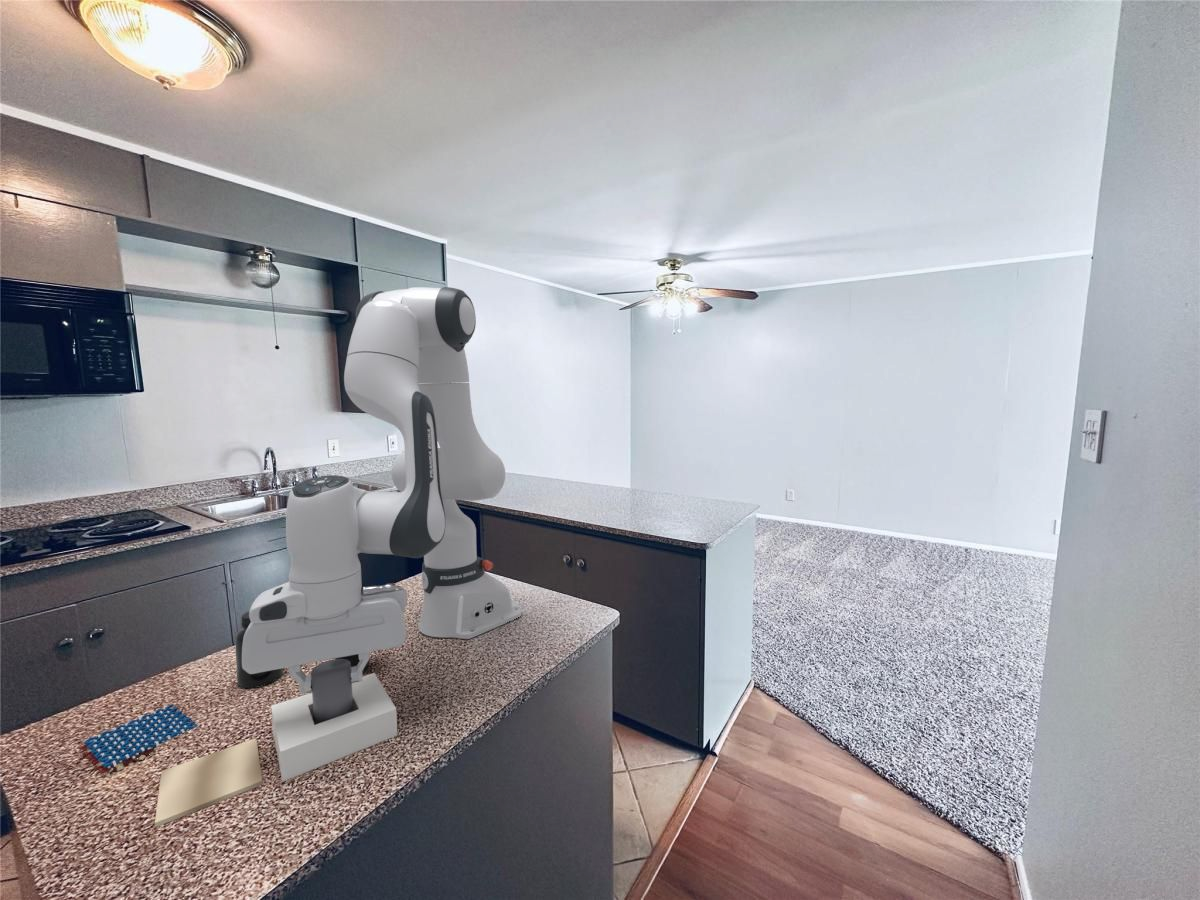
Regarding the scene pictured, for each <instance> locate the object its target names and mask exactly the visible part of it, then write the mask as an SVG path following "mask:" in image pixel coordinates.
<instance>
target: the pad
mask: <svg viewBox="0 0 1200 900" xmlns="http://www.w3.org/2000/svg"><path fill="white" fill-rule="evenodd" d="M160 773H161V774H160V779H159V789H158V795H157V804H156V811H155V819H154V826H155V827H154V828H157V827H160V826H162V825H164V824H165V825H166V824H169V823H170V822H172V821H174V820H177V819H180V818H182V817H185V816H189V815H190V814H192V813H195V812H198V811H200V810H203V809H205V808H208V807H210V806H212V805H215V804H217V803H220V802H223V801H225V800H227V799H231V798H233V797H235V796H238V795H240V794H242V793H246V792H248V791H250V790H253V789H255V788H258V787H260V786H263V775H262V769H261V763H260V754H259V748H258V741H257V737H256V738H255V737H254V738H252V739H249V740H246V741H243V742H241V743H238V744H234V745H232V746H229V747H227V748H224V749H220V750H217V751H214V752H211V753H208V754H206V755H203V756H201V757H198V758H195V759H191V760H190V761H186V762H184V763H183V762H182V763H181V764H177V765H175V766H172V767H169V768H165V769H163V770H161V771H160Z"/></svg>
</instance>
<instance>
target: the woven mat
mask: <svg viewBox="0 0 1200 900" xmlns="http://www.w3.org/2000/svg"><path fill="white" fill-rule="evenodd" d="M174 706H175V703H170V704H169V705H167V706H166V707H165V706H164V707H162V708H157V709H156V711H153V712H152V713H151V714H143V716H142V717H138V718H137V719H132V720H130V721H129V722H126V723H124V724H118V725H117V727H113V729H111V730H103V731H102V733H101V734H100V733H99V734H97V735H96V736H91V737H89V738H87V739H86V740H85V741H83V744H84V745H81V746H80V750H82V756H83V757H84V756H85V757H86V759H87V761H90V763H92V764H93V766H95V767H94V769H93V770H98V773H99V774H100V775H103V776H105V775H106V776H105V777H107V776H108V777H111V776H112V774H110V773H112V772H113V771H115V772H116V771H117V772H119V771H122V770H124V769H125V767H127V766H128V767H132V765H133V766H134V764H135V763H134V761H135V760H138V761H139V760H142V761H143V759H144V758H145V759H146V755H148V754H150V755H151V756H153V755H155V754H156V751H157V747H158V746H160V744H161V743H164V742H167V741H168V740H171V739H173V738H174V737H176V736H177V737H179V736H180V735H182V734H184V733H186V732H188V731H190V730H192V729H195V728H197V727H198V725H197V724H196V721H195V720H194V721H192V718H191V717H187V713H183V710H179V707H177V706H176V707H174ZM192 725H193V726H192ZM154 753H155V754H154ZM137 758H138V759H137ZM145 759H144V760H145ZM127 764H128V765H127ZM108 777H107V778H108Z"/></svg>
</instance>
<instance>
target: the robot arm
mask: <svg viewBox="0 0 1200 900" xmlns="http://www.w3.org/2000/svg"><path fill="white" fill-rule="evenodd" d="M476 319H477V318H476V311H475V307H474V304H473V302H472V300H471V297H469V295H467V293H466V292H465V291H464V290H462V289H459V288H455V287H448V286H442V287H441V288H440V287H429V286H428V287H426V286H425V287H422V286H420V287H418V286H417V287H415V286H414V287H409V288H403V289H402V288H401V289H395V290H394V289H393V290H389V291H383V290H378V291H375V292H371V293H369V294H367V295H365V296H363V297H362V298H361V300H360V301H359V303H358V305H357V306H356V309H355V324H354V326H353V329H352V333H351V336H350V339H349V344H348V350H347V355H346V361H345V367H344V374H343V382H344V385H343V386H344V389H345V392H346V394H347V396H348V398H349V399H350V401H351V402H352V403H353V404H354V405H355V406H356V407H357V408H359V409H360V410H361V411H363V412H364V413H366V414H368V415H370V416H372V417H374V418H376V419H378V420H381V421H384V422H386V423H387V424H391V425H393V426H394V427H396V428H397V430H399V432H400V433H401V436H402V438H403V445H404V451H402V452H401V453H399V454H398V456H396V458H395V459H394V461H393V464H392V467H391V478H392V479H391V480H392V482H393V485H394V486H395V488H396V489H397V490H398V491H376V490H366V489H363V488H358V487H356V486H354V485H353V483H352V481H351V479H350V478H349V477H346V476H343V475H339V474H338V475H334V474H330V475H321V476H317V477H311V478H307V479H305V480H302V481H300V482H299V483H297V484H296V485H294V486H293V487H292V488H291V489H290V492H289V495H288V498H287V504H286V512H285V513H286V514H285V539H286V540H285V541H286V548H287V549H286V550H287V551H288V553H289V556H290V569H289V572H288V581H287V582H284V583H283V584H279V585H277V586H274V587H272V588H269V589H267V590H264V591H263V592H261V593H260V594H259V595H258V596H257V597H256V598H255V600H254V601H253V602H252V604H251V606H250V608H249V611H250V612H249V618H250V621H251V623H250V624H249V626H248V628H247V630H246V632H245V634H244V638H243V645H242V668H243V669H244V670H245V671H246V672H247V673H249V674H255V673H260V672H265V671H271V670H276V669H281V668H284V669H286V668H288V675H289V676H290V677H291V678H292V679H293V680H294V681H295V682H296V683H297V684H298V687H299V688H298V691H299V694H300V695H301V694H302V695H304V694H309V693H312V681H311V674H309V675H306V673H305V672H304V671H303V670H302V667H303V665H306V664H313V663H317V662H318V663H319V662H325V661H329V660H334V659H335V658H340V657H345V656H351V655H356V654H359V660H360V661H359V663H358V665H357V666H354V667H351V683H356V682H360V681H362V678H363V676H364V675H363V673H362V670H363V669H364V667H365V665H366V664H367V662H368V660H369V661H370V657H371V656H370V655H371V654H370V653H371V652H377V651H383V650H387V649H393V648H398V647H400V646H401V647H402V645H403V644H404V643H405V641H406V639H407V632H406V622H405V616H404V615H405V614H404V610H405V609H406V607H407V604H408V599H407V598H408V594H407V590H406V589H405V588H404V587H403V586H401V585H396V583H386V584H383V585H382V584H381V585H371V586H362V584H363V583H362V568H361V567H362V566H361V562H360V559H359V556H358V554H360V553H364V554H373V555H375V554H376V555H377V554H378V555H394V556H397V557H398V556H399V557H406V558H411V559H421V558H423V562H422V564H421V565H422V566H421V567H422V568H421V571H422V572H421V584H422V590H423V602H422V609H421V613H420V614H421V615H420V618H419V622H418V626H417V628H418V631H420V633H421V634H423V635H425V636H429V637H433V638H455V639H462V640H469V639H472V638H474V637H477V636H479V635H482V634H484V633H486V632H489V631H491V630H493V629H495V628H498V627H501V626H502V625H505V624H507V622H508V623H510V622H512V621H514V619H515V620H516V618H517V619H519V618H521V617H522V616H521V615H523V614H522V608H521V606H520V605H519V604H518V603H517V602H515V601H514V600H512V597H511V594H510V593H511V592H510V591H509V589H508V587H507V586H506V585H505V584H504V583H503V582H502V581H500V580H498V579H497V578H495V577H494V576H492V575H491V574H489V573H487V572H489V571H491V570H492V569H493V568H494V563H493V562H492V561H490V560H488V559H484V558H482V557H479V556H478V555H477V554H478V553H477V552H478V551H477V528H476V524H475V523H474V521H473V520H472V519H471V518H470V517H469V516H468V515H466V514H464V512H463V511H462V510H461V509H460V508H459V506H458V504H457V502H456V501H468V502H469V501H470V502H472V501H473V502H474V501H483V500H487V499H492V498H495V497H496V496H498V494H499V493H500V492H501V490H502V489H503V486H504V485H505V482H506V469H505V465H504V462H503V461H502V459H501V457H499V455H498V454H497V453H495V452H494V451H493V450H491V449H490V448H489V447H488V445H487V444H486V443H485V441H484V440H483V439H482V437H481V434H480V433H479V431H478V429H477V426H476V424H475V421H474V416H473V415H474V414H473V409H472V400H471V387H470V377H469V374H470V373H469V367H468V361H467V357H466V352H465V347H466V344H468V343H469V342H470V341H471V338H473V335H474V333H475V330H476V326H477V325H476V323H477V322H476V321H477V320H476ZM485 570H486V571H487V572H486V571H485ZM362 594H363V596H362ZM520 616H521V617H520ZM518 617H519V618H518ZM509 621H510V622H509Z"/></svg>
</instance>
